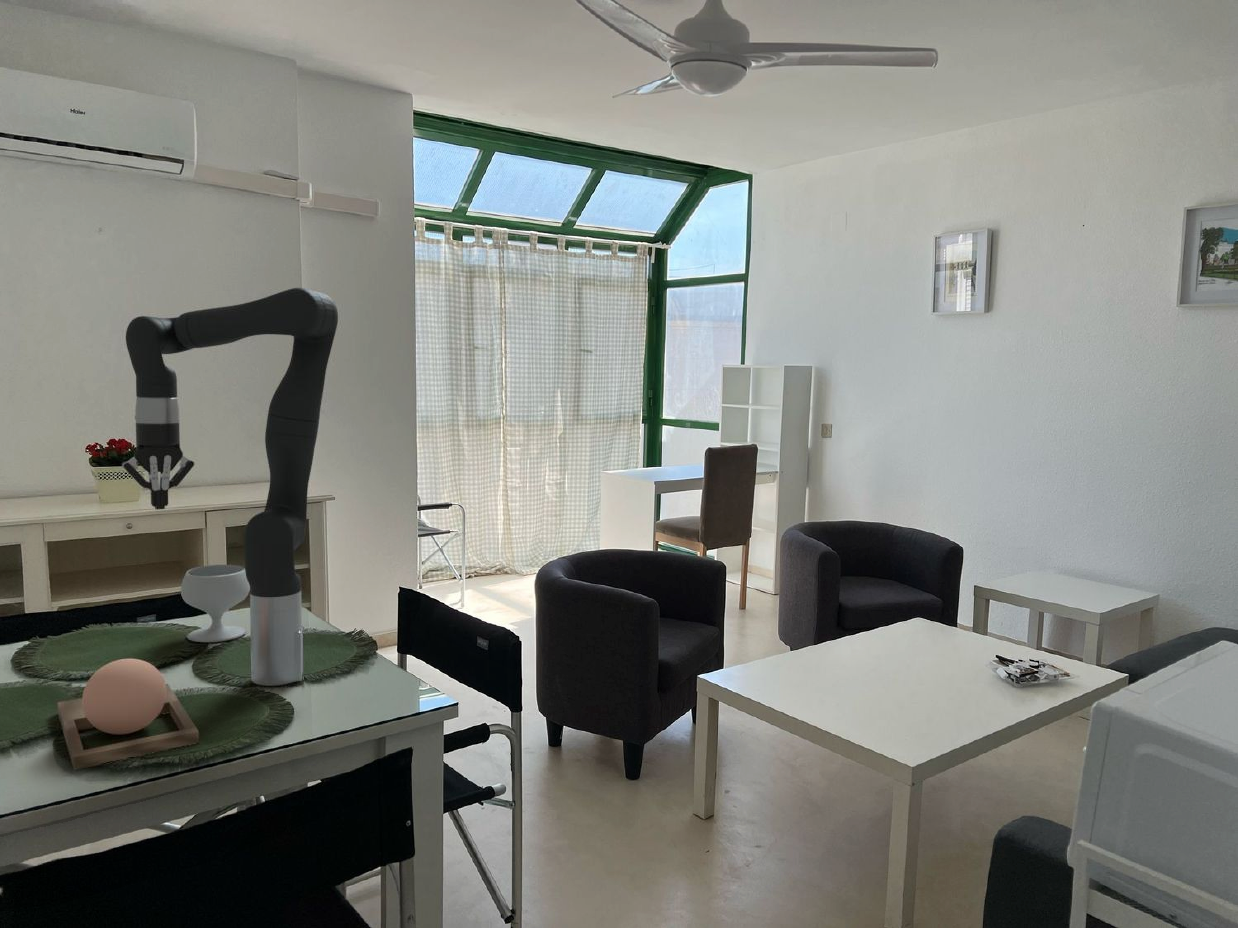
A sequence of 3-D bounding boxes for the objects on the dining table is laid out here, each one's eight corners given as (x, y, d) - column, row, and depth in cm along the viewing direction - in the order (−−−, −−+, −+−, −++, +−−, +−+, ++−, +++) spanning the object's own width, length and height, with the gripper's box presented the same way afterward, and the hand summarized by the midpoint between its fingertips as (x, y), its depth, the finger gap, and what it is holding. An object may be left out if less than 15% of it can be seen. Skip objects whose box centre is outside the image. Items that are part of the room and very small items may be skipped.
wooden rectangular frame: (167, 693, 159) (167, 683, 159) (199, 743, 138) (198, 731, 138) (58, 713, 149) (57, 702, 149) (73, 770, 128) (73, 757, 128)
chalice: (212, 624, 203) (211, 561, 202) (264, 630, 199) (263, 566, 198) (167, 641, 190) (165, 574, 188) (221, 648, 186) (219, 579, 185)
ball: (171, 649, 150) (184, 688, 141) (143, 709, 151) (155, 751, 142) (94, 640, 142) (103, 680, 133) (66, 703, 143) (73, 747, 134)
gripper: (121, 422, 162) (124, 514, 163) (198, 421, 170) (200, 509, 171) (115, 420, 168) (118, 508, 169) (190, 419, 176) (192, 504, 177)
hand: (159, 508), depth 170 cm, fingers closed
